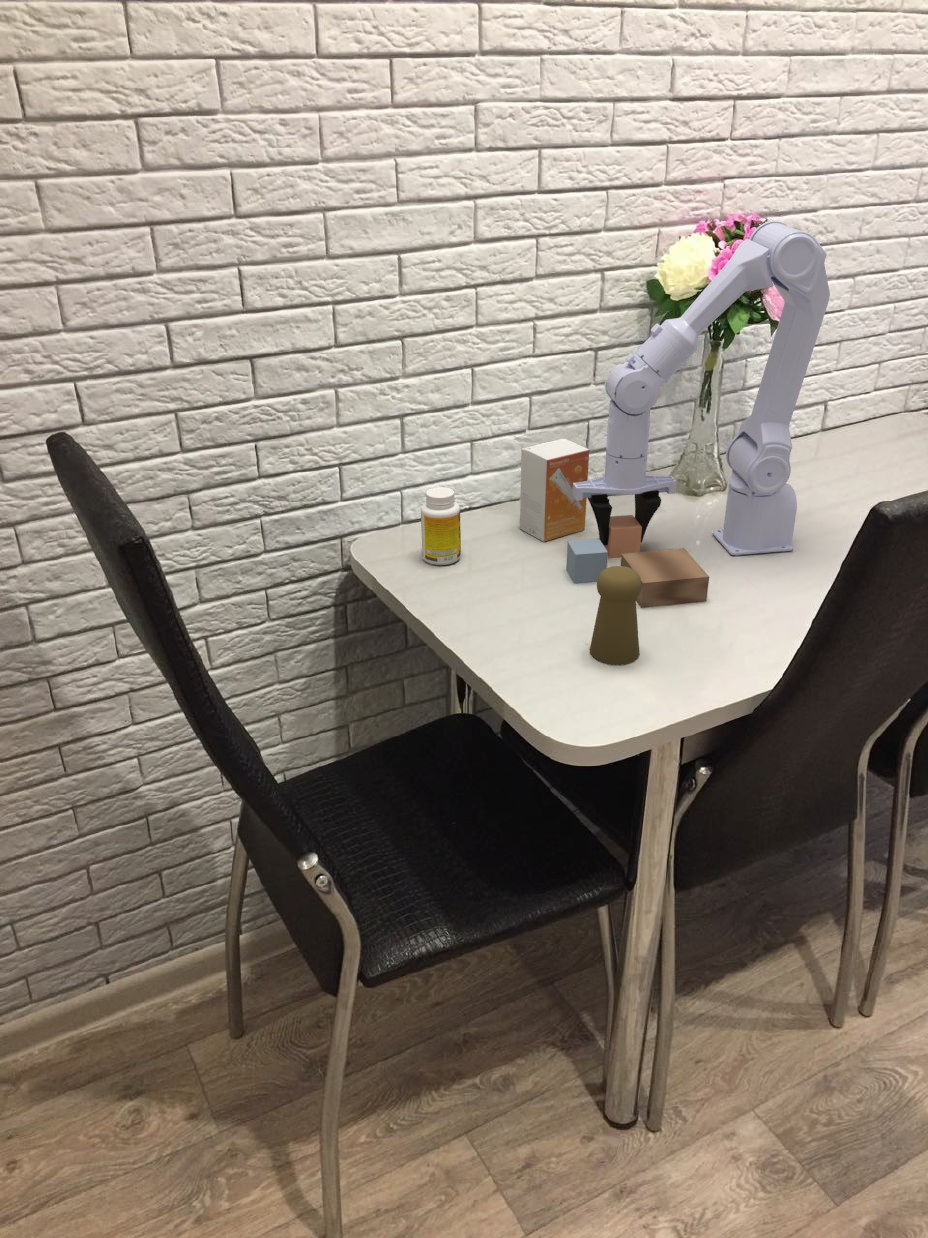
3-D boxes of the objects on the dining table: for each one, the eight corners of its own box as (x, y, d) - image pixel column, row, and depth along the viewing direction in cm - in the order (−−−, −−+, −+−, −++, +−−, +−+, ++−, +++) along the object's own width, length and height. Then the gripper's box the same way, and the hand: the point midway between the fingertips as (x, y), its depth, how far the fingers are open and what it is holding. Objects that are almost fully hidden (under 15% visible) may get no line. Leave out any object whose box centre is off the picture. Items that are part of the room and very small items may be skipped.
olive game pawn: (585, 641, 128) (589, 560, 122) (633, 638, 128) (639, 558, 123) (594, 666, 122) (599, 583, 117) (644, 664, 123) (651, 581, 117)
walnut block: (681, 574, 144) (684, 548, 142) (706, 603, 136) (709, 576, 135) (619, 580, 143) (621, 553, 141) (641, 610, 135) (643, 583, 133)
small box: (544, 543, 153) (546, 459, 147) (518, 529, 158) (519, 447, 151) (586, 530, 157) (590, 448, 151) (560, 516, 162) (563, 436, 155)
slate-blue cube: (597, 567, 146) (599, 538, 144) (606, 581, 142) (607, 552, 140) (566, 570, 145) (567, 540, 143) (574, 584, 141) (575, 554, 139)
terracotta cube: (630, 542, 153) (632, 514, 151) (639, 555, 149) (641, 527, 147) (600, 545, 152) (602, 516, 150) (609, 558, 148) (611, 529, 146)
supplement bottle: (466, 563, 147) (465, 496, 142) (429, 569, 146) (427, 502, 141) (453, 547, 152) (452, 482, 147) (417, 553, 150) (415, 487, 145)
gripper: (667, 439, 148) (660, 526, 154) (568, 445, 146) (565, 533, 152) (684, 456, 142) (675, 546, 148) (581, 462, 140) (577, 553, 146)
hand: (620, 541), depth 150 cm, fingers closed on terracotta cube, 4 cm apart
